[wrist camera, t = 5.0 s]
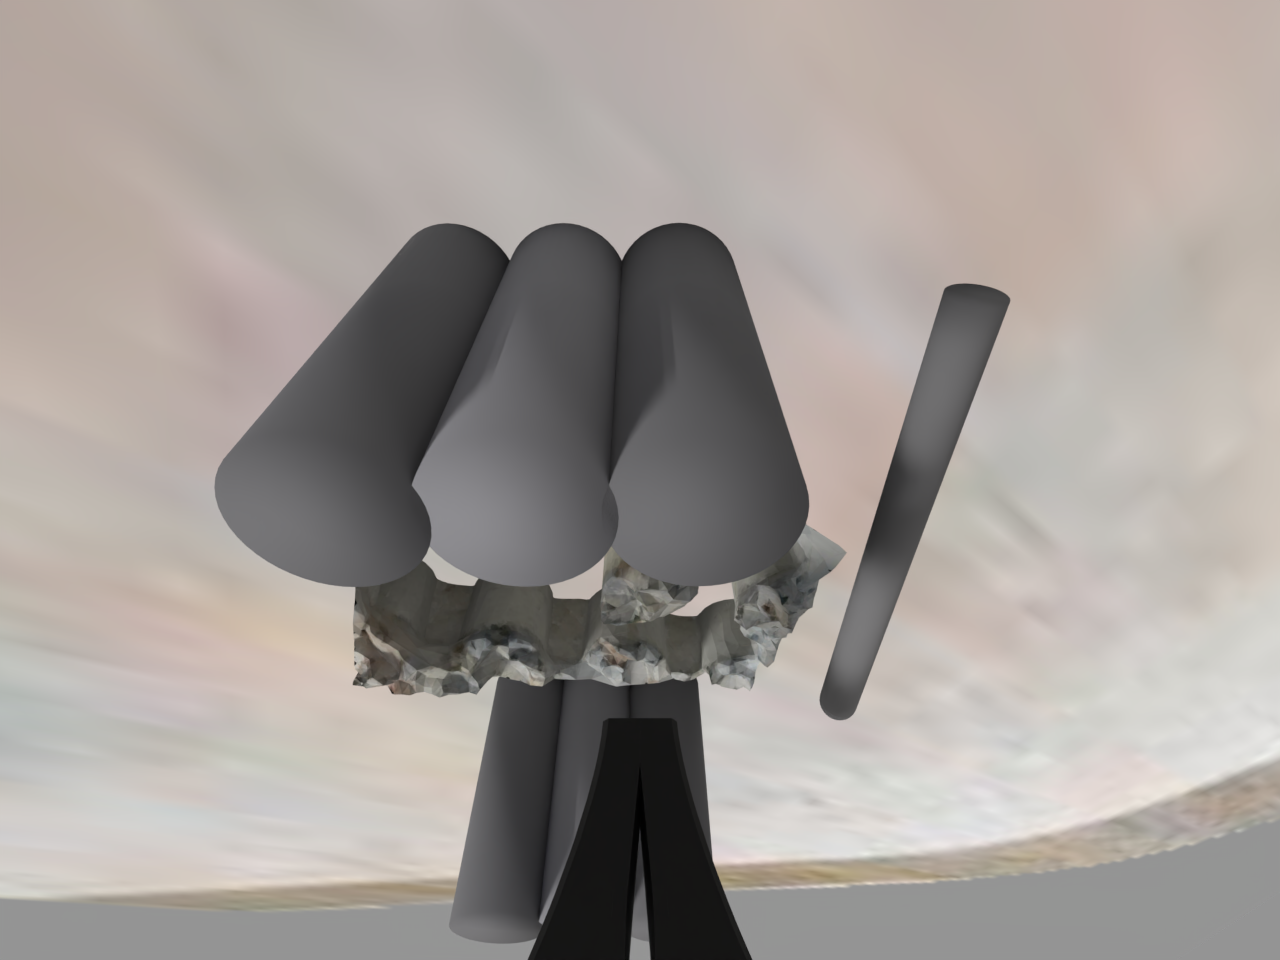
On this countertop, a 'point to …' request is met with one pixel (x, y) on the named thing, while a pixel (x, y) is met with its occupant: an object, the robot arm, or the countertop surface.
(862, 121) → the countertop surface
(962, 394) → the dark grey rod
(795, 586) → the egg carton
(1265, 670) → the countertop surface
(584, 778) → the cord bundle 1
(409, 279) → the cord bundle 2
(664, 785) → the robot arm
